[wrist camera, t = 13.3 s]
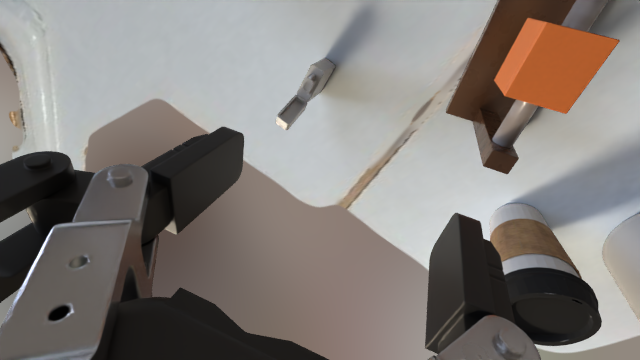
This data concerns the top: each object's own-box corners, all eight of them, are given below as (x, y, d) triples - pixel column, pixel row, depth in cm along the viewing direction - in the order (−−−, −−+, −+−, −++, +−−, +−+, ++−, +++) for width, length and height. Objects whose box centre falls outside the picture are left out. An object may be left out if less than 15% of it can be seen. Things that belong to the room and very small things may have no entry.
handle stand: (445, 109, 35) (446, 154, 25) (527, -64, 26) (580, -102, 16) (516, 131, 33) (546, 187, 24) (629, -43, 24) (756, -70, 14)
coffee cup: (572, 211, 36) (637, 321, 24) (526, 256, 40) (561, 365, 28) (502, 184, 37) (530, 275, 25) (466, 230, 42) (475, 325, 30)
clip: (493, 80, 26) (504, 96, 22) (527, 17, 23) (546, 21, 19) (545, 95, 25) (566, 114, 21) (587, 32, 23) (620, 40, 19)
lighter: (324, 57, 36) (298, 70, 30) (335, 65, 36) (312, 80, 30) (299, 103, 41) (272, 123, 34) (309, 111, 41) (284, 132, 34)
